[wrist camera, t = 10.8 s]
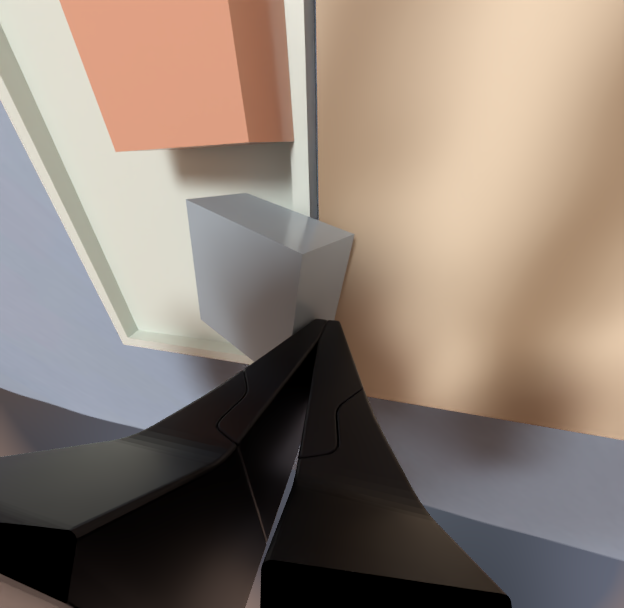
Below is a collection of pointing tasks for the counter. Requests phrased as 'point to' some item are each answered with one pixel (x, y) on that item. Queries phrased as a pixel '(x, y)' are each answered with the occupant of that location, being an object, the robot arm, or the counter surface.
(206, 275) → the grey box
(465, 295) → the birch board
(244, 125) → the terracotta block
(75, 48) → the tray
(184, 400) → the counter surface
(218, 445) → the robot arm
